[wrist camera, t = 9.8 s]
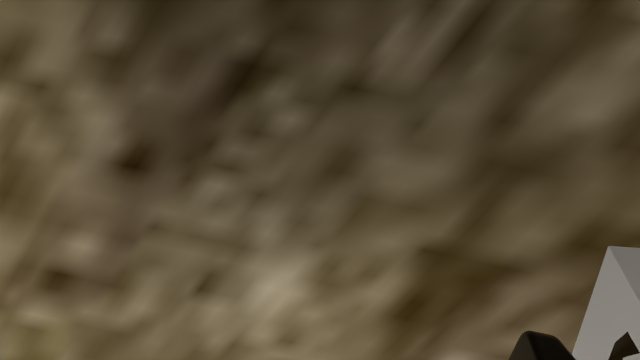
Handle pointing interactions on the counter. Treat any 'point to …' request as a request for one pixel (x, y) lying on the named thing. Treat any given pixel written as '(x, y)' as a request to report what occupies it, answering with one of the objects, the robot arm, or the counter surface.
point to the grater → (612, 306)
